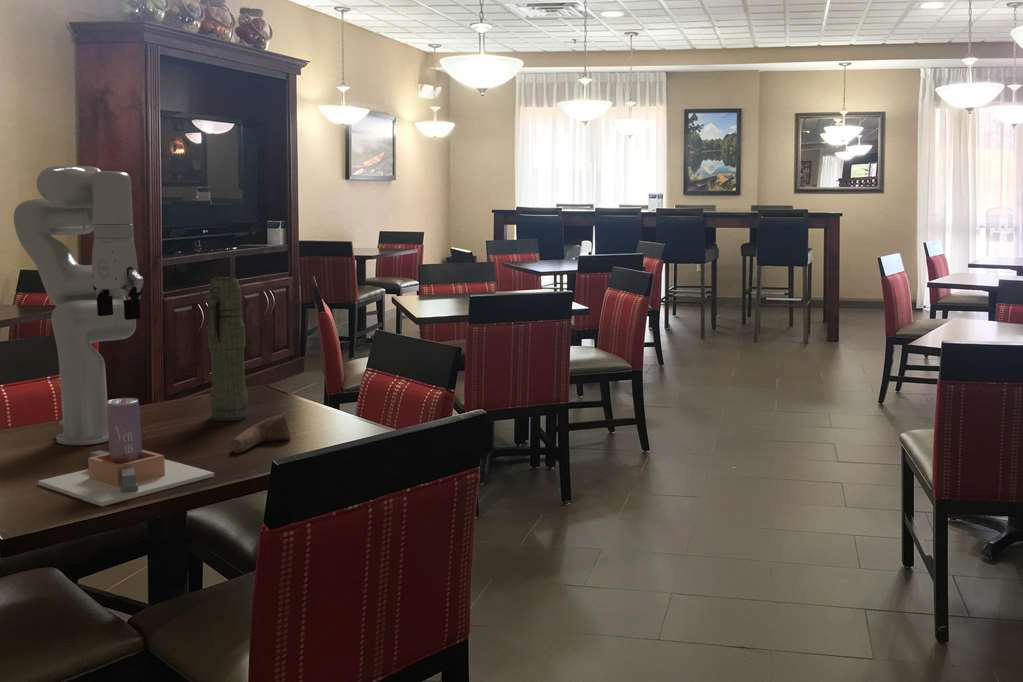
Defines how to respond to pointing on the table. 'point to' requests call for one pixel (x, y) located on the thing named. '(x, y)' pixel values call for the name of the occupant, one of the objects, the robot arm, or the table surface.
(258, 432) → the pipe
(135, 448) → the beverage can
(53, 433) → the table surface
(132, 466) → the white board with box
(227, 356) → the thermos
